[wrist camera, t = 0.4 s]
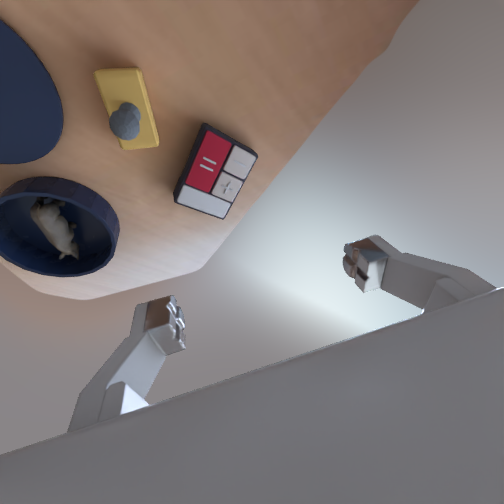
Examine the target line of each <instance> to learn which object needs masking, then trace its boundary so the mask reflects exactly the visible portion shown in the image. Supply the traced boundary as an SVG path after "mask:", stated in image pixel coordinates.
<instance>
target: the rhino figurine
mask: <svg viewBox="0 0 504 504" xmlns="http://www.w3.org/2000/svg"><path fill="white" fill-rule="evenodd" d="M47 198H48V197H40V196H37V199H36V202H35V203H34V205H33V206H32V207H31V209H30V215H31V218H32V219H33V221H34V222H35V223H36V224H37V225H38V227H39V228H40V229H41V231H42V232H43V233H44V235H45V236H46V238H47V239H48V241H49V242H50V243H51V244H53V245H54V246H55V247H56V248H57V249H58V250H59V251H61V252H62V253H61V254H60V256H59V258H60V259H63V258H64V256H65V255H69V254H71V255H73V256H74V257H76V258H77V260H78V259H79V248H80V247H79V245H78V244H77V243H76V242H74V241H71V240H72V239H73V236H74V233H73V229H72V228H76V224H75V223H73V222H67V220H66V219H65V218H64V217H63V216H61V215H59V214H60V211H59V206H62V207H63V206H65V201H63V200H59V199H55V200H53V201H52V202H51V203H47V204H44V199H47Z"/></svg>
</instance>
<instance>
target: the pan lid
mask: <svg viewBox="0 0 504 504" xmlns="http://www.w3.org/2000/svg"><path fill="white" fill-rule="evenodd" d="M62 129H63V109H62V104H61V100H60V97H59V94H58V92H57V89H56V86H55V84H54V82H53V80H52V79H51V77H50V75H49V73H48V71H47V70H46V68H45V67H44V65H43V64H42V62H41V61H40V60H39V58H38V57H37V56H36V54H35V53H34V52H33V50H32V49H31V48H30V47H29V46H28V45H27V44H26V43H25V42H24V40H23V39H22V38H21V37H20V36H19V35H18V34H17V33H16V32H14V31H13V30H12V29H11V28H10V27H9V26H8V25H7V24H6V23H4V22H3V21H2V20H1V19H0V163H1V164H20V163H27V162H30V161H34V160H37V159H39V158H41V157H43V156H44V155H46V154H47V153H49V152H50V151H51V150H52V149H53V148H54V147H55V145H56V144H57V142H58V141H59V139H60V136H61V134H62Z"/></svg>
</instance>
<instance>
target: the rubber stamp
mask: <svg viewBox="0 0 504 504" xmlns="http://www.w3.org/2000/svg"><path fill="white" fill-rule="evenodd" d="M93 75H94V78H95V81H96V84H97V86H98V89H99V91H100V94H101V97H102V99H103V102H104V105H105V107H106V110H107V113H108V115H109V123H110V128H111V130H112V131H113V133H114V134H115V135H116V136H117V139H118V142H119V144H120V147H121V148H122V149H123V150H129V149H139V148H148V147H157V146H158V145H159V135H158V131H157V128H156V124H155V120H154V116H153V113H152V109H151V105H150V101H149V98H148V94H147V90H146V86H145V82H144V79H143V75H142V71H141V70H140V69H139V68H138V67H133V68H110V69H99V70H97V71H95V72H94V74H93Z"/></svg>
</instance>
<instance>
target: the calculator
mask: <svg viewBox="0 0 504 504" xmlns="http://www.w3.org/2000/svg"><path fill="white" fill-rule="evenodd" d="M257 158H258V154H257V153H256V152H254V151H253V150H252V149H250V148H249V147H247V146H245V145H243V144H242V143H240V142H238V141H236V140H235V139H233V138H231V137H229V136H228V135H226V134H224V133H222V132H221V131H219V130H217V129H215V128H214V127H212V126H210V125H208V124H207V123H203V124H202V125H201V128H200V130H199V133H198V135H197V138H196V140H195V143H194V145H193V147H192V150H191V152H190V155H189V157H188V160H187V162H186V165H185V167H184V169H183V172H182V174H181V176H180V178H179V180H178V182H177V185H176V187H175V190H174V192H173V197H174V202H175V203H177V204H180V205H183V206H186V207H188V208H191V209H194V210H197V211H200V212H203V213H205V214H208V215H211V216H214V217H217V218H220V219H224V218H225V217H226V215H227V213H228V211H229V209H230V208H231V206H232V204H233V202H234V200H235V198H236V197H237V195H238V193H239V191H240V189H241V187H242V185H243V184H244V182H245V180H246V178H247V176H248V174H249V173H250V171H251V169H252V167H253V165H254V163H255V162H256V160H257Z"/></svg>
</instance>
